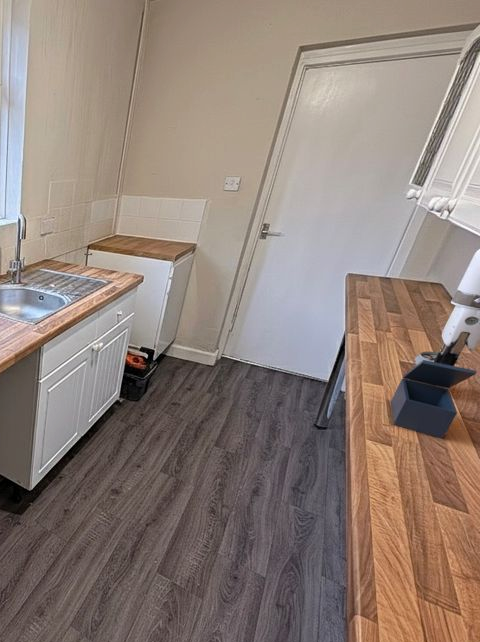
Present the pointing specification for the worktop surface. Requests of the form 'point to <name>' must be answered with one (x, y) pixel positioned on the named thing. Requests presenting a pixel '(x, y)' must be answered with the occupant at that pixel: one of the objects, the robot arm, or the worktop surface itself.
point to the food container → (426, 357)
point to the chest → (423, 408)
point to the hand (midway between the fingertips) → (441, 369)
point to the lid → (438, 374)
